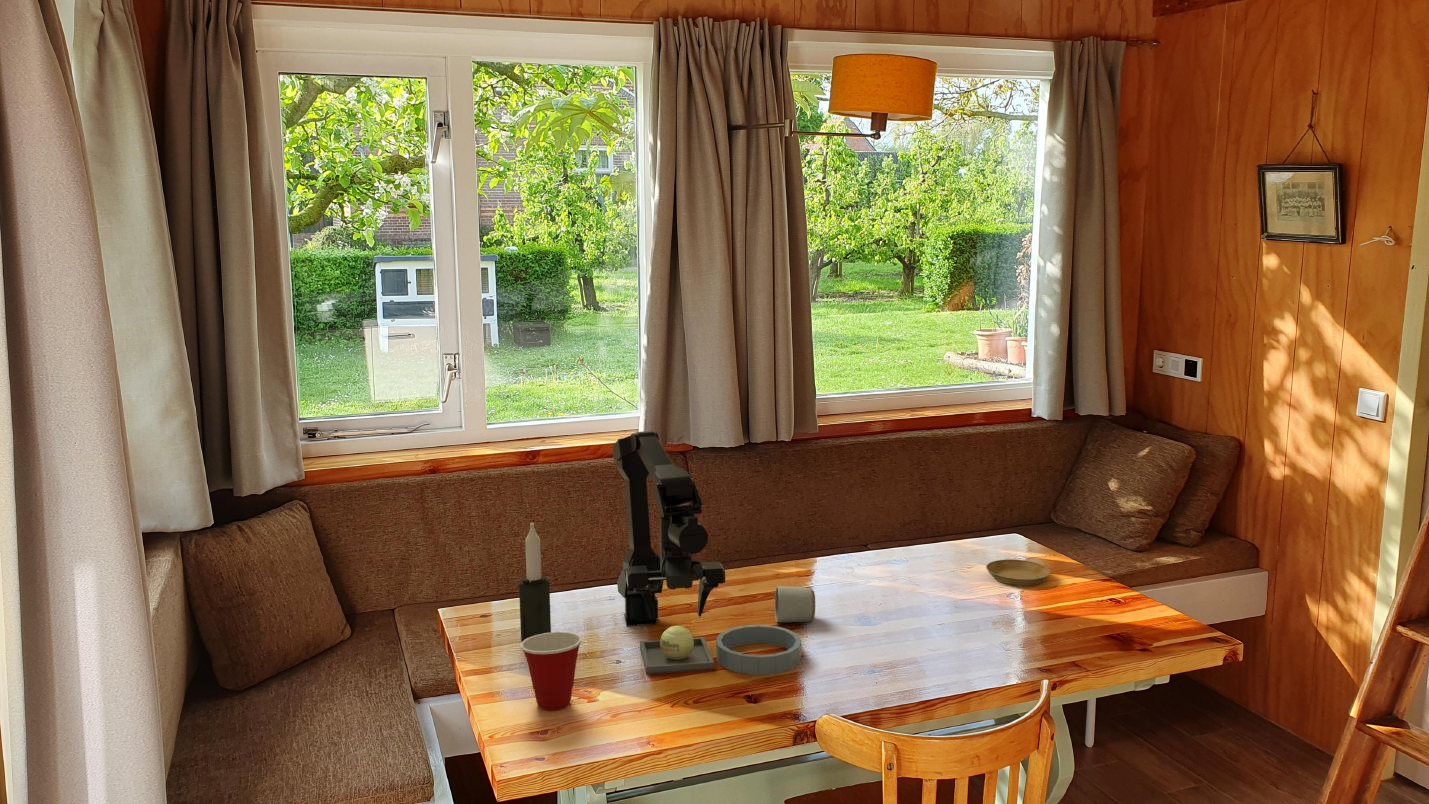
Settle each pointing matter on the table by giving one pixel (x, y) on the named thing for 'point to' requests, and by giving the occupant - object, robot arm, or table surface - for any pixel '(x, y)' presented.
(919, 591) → the table surface
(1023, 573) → the plant saucer
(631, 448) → the robot arm
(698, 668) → the tray
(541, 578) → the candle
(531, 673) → the plastic cup
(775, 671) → the gray open ring
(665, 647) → the tennis ball
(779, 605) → the ceramic mug
